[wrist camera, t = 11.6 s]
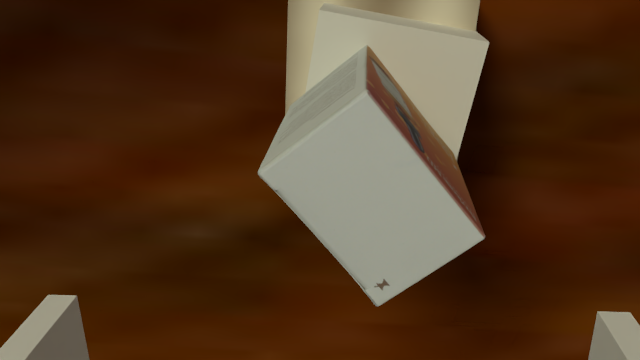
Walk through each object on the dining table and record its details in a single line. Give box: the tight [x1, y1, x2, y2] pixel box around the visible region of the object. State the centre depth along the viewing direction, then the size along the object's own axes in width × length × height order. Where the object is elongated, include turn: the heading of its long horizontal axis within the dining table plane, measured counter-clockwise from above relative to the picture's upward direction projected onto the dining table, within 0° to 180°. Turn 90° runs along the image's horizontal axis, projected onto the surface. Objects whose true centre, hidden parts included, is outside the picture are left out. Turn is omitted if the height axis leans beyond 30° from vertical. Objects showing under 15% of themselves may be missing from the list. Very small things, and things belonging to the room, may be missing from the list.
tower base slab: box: [285, 0, 480, 161], centre depth 39 cm, size 11×13×4 cm
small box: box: [258, 45, 485, 306], centre depth 28 cm, size 8×6×10 cm
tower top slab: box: [305, 3, 489, 160], centre depth 35 cm, size 9×11×4 cm
